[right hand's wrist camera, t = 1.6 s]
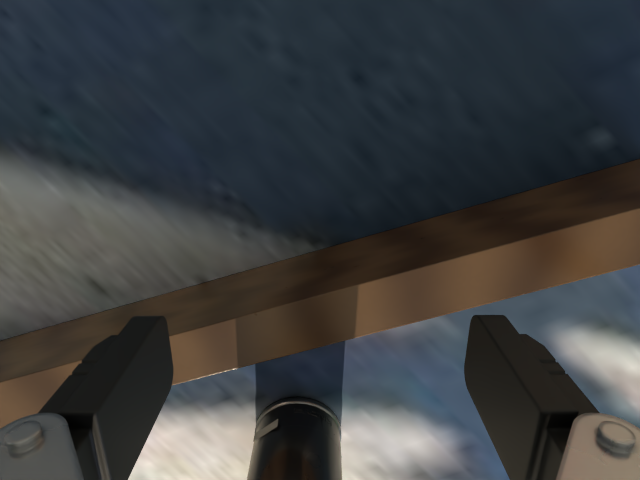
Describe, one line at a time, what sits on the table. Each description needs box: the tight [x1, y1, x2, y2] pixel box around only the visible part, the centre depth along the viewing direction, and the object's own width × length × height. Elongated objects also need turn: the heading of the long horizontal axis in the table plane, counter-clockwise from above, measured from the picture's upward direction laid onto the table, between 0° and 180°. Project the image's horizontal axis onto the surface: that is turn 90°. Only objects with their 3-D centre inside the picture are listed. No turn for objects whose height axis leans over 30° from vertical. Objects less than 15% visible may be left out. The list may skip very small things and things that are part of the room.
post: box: [0, 159, 640, 429], centre depth 38 cm, size 75×4×9 cm, turn 107°
